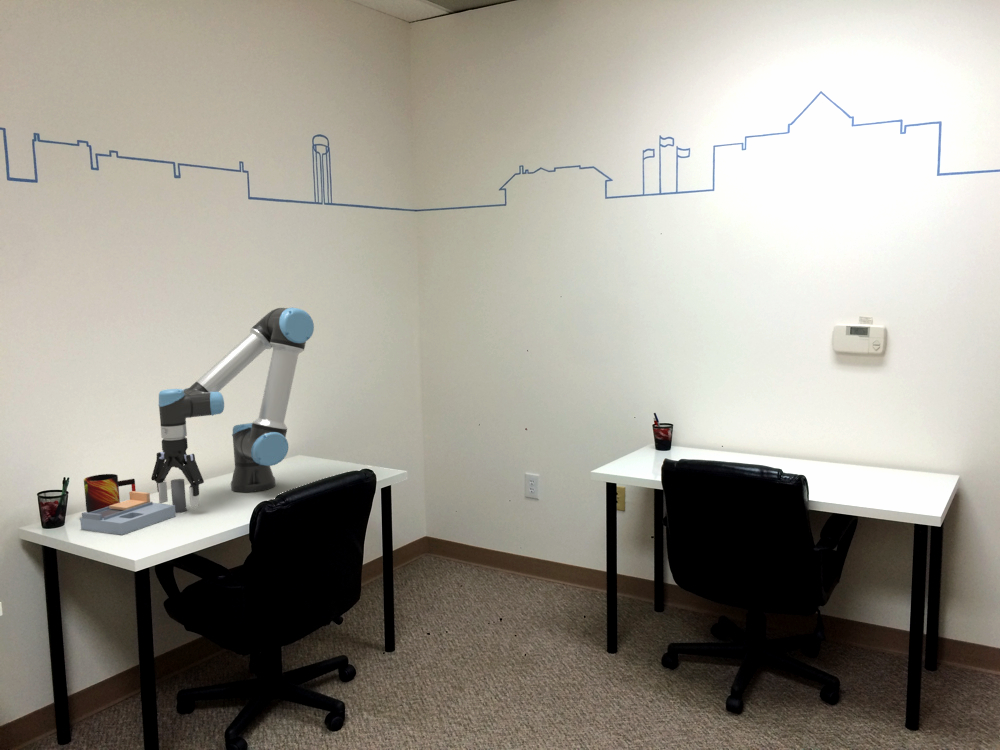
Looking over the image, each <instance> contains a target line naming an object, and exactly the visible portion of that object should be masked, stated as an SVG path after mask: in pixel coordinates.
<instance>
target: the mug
mask: <svg viewBox="0 0 1000 750" xmlns="http://www.w3.org/2000/svg"><path fill="white" fill-rule="evenodd" d="M83 485H84V486H83V488H84V498H85V509H86V512H88V513H89V512H92V511H95V510H99V509H102V508H105V507H108V506H110V505H113V504H117V503H120V502H121V500H120V499H121V498H120V489H119V487H124V486H125V487H126V486H130V485H131V491H136V480H135V478H129V479H122V480H119V477H118V474H115V473H103V474H95V475H90V476H87V477H85V478H84V479H83ZM136 492H137V491H136Z"/></svg>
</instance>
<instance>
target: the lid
mask: <svg viewBox="0 0 1000 750" xmlns="http://www.w3.org/2000/svg"><path fill="white" fill-rule="evenodd" d="M150 495H151V494H150V492H146V491H145V492H144V491H132V490H131V491H129V499H127V500H124V501H120V503H117V504H113V505H110V506H109V508H110V509H118V510H127V509H130V508H133V507H136V506H140V505H143V504H146V503H149V502H151V496H150Z"/></svg>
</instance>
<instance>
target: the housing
mask: <svg viewBox="0 0 1000 750" xmlns="http://www.w3.org/2000/svg"><path fill="white" fill-rule="evenodd" d="M176 515H177V513H176V512H175V505H172V504H166V503H159V502H153V501H150V502H149V503H146V504H143V505H140V506H136V507H133V508H130V509H127V510H118V509H110V508H109V506H108V507H105V508H102V509H99V510H95V511H92V512H89V513H88V512H87V511H86V512H85V511H83V512H81V517H80V519H79V520H80V521H79V522H80V529H81V530H83V531H89V532H90V531H91V532H99V533H104V534H111V535H120V536H124V535H126V534H129V533H132V532H135V531H138V530H141V529H143V528H146V527H150V526H152V525H154V524H157V523H161V522H163V521H166V520H169V519H171V518H175V517H176Z"/></svg>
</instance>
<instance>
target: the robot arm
mask: <svg viewBox="0 0 1000 750" xmlns="http://www.w3.org/2000/svg"><path fill="white" fill-rule="evenodd" d="M314 331H315V325H314V321H313V318H312V317H311V315H310V314H309V313H308V312H307V311H306V310H304V309H301V308H297V307H278V308H277V307H276V308H275V309H272V310H271V311H269V312H267V314H265V315H264V316H263V317H262V318H261V319H260V320H259V321H258V322H256V324H254V325H253V326H252V327H251V328H250V330H249V334H247V335H246V336H245V337H244V338H243V339H242V340H241V341H240V342H239V343H238V344H237V345H236V346H234V347H233V348H232V349H231V350H230V351H229V352H227V354H226V355H224V356H223V357H222V358H221V359H220V360H218V362H216V364H214V365H213V366H212V367H210V369H209V370H207V371H206V372H205V373H204V374H203V375H202V376H201V377H200V378H199V379H197V380H196V381H195V382H194V383H193V384H191V386H190V387H187V388H186V387H185V388H167V389H162V390H160V391H159V393H158V411H159V421H160V422H159V423H160V436H161V450H162V451H160V452H156V461H155V464H154V468H153V471H152V474H151V481H154V482H155V483H156V488H157V493H158V500H159V501H158V503H160V504H165V503H166V502H169V499H168V487H167V481H166V479H167V476H168V475H169V473H170V472H171V469H172V468H176V469H177V468H178V470H181V472H182V474H183V475H184V477H185V479H186V480H187V482H188V483H189V484H190V485H189V486H188V489H189V490H188V492H189V507H190V508H194V507H197V506H199V505H200V504H199V496H200V487H199V486H200V485H202V484H204V482H205V480H204V478H203V475H202V473H201V470H200V468H199V466H198V464H197V461H196V456H195V454H194V453H190V454H187V449H188V448H189V446H188V438H187V436H188V431H187V421H186V419H191V418H195V417H196V418H197V417H207V416H212V417H213V416H216V415H221V414H222V413H223V412H224V409H225V399H224V395H223V394H222V393H221V392H220V391H221V390H222V389H224V388H225V387H226V386H227V385H228V384H229V383H230V382H231V381H232V380H233V379H234V378H236V377H237V376H238V375H239V374H240V373H241V372H242V371H243V370H245V368H246V367H248V366H249V365H250V364H251V363H253V361H254V360H255V359H256V358H258V357H259V356H260V355H261V354H262V353H264V351H266V350H270V349H272V352H271V353H272V354H271V358H270V363H269V367H268V372H267V377H266V382H265V385H264V390H263V395H262V399H261V404H260V408H259V413H258V417H257V418H256V419H255V420H253V422H249V423H242V424H241V423H240V424H235V425H234V426H233V427H232V434H231V437H232V443H233V444H232V446H233V447H232V448H233V460H234V469H233V473H232V474H233V475H232V479H231V481H230V490H231V491H233V492H236V493H255V492H263V491H266V490H269V489H272V488H274V487H275V486H276V478H275V476H274V475H273V470H272V468H271V466H272V467H273V466H276V465H277V464H279V463H281V462H282V461H283V460H284V459H286V456H287V455H288V452H289V442H288V440H287V438H286V437H287V432H288V427H287V426H286V424H285V419H286V415H287V410H288V405H289V401H290V396H291V391H292V387H293V382H294V377H295V372H296V367H297V363H298V359H299V358H298V357H299V355H300V353H302V352H305V348H306V344H307V341H309V340H310V338H312V336H313V335H314V334H313V333H314Z"/></svg>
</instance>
